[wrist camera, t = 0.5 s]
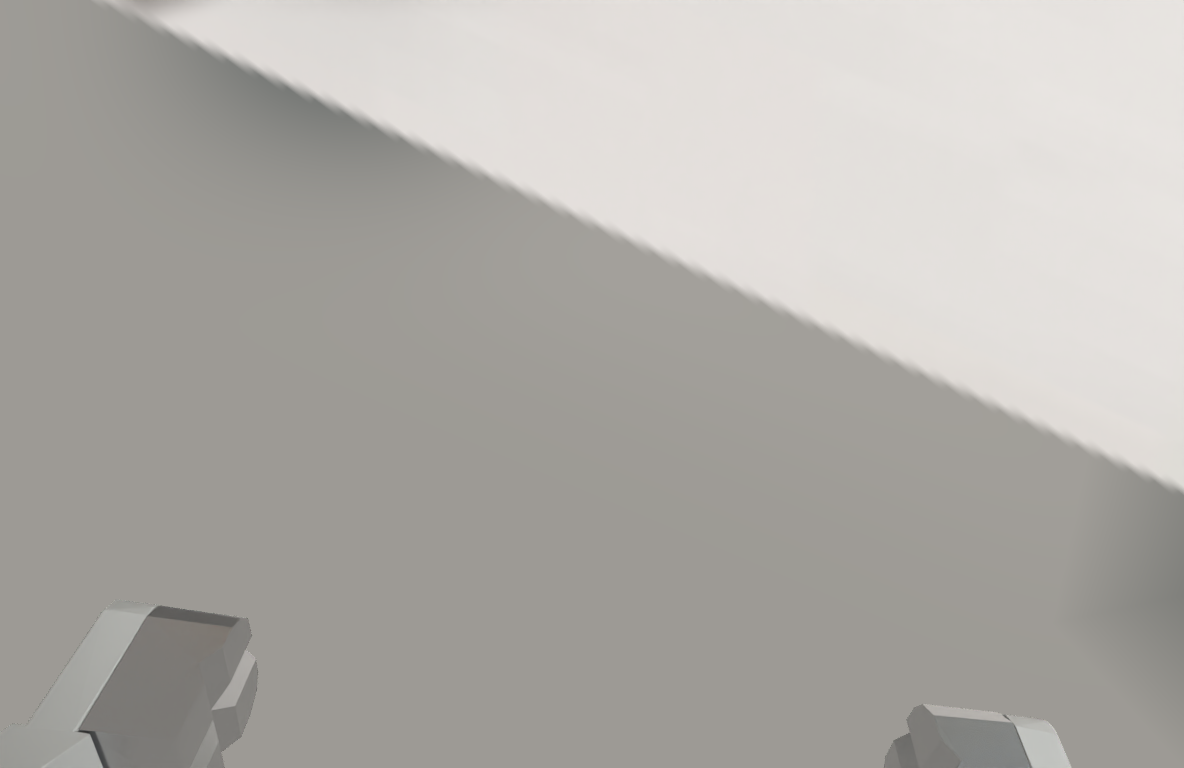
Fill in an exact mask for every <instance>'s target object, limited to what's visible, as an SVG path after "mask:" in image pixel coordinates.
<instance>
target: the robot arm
mask: <svg viewBox="0 0 1184 768" xmlns="http://www.w3.org/2000/svg"><path fill="white" fill-rule="evenodd" d="M251 637H252V634H251V629H250V625H249V621H248V618H242V617H236V616H229V615H222V614H215V613H207V612H201V611H194V610H186V609H180V608H173V607H165V606H162V605H155V604H147V603H139V602H130V601H122V600H115V601H114V602H113V603H112V604H110V605H109V606H108V607H107V608H106V609H104V610H103V611H102V612H101V614H100V615H99V617H98V618H97V620H96V621H95V623H94V624H93V626H92V627H91V629H90V630H89V632H88V633H87V635H86V636H85V638H84V639H83V641H82V642H81V644H80V645H79V647H78V648H77V650H76V651H75V653H74V654H73V656H72V657H71V659H70V660H69V662H68V663H67V665H66V666H65V668H64V669H63V671H62V672H61V673H60V675H59V677H58V678H57V680H56V681H55V682H54V684H53V685H52V687H51V688H50V690H49V691H48V693H47V694H46V696H45V697H44V699H43V701H42V702H41V703H40V705H39V706H38V708H37V709H36V711H35V712H34V714H33V716H32V717H31V719H30V720H29V721H28V723H27V724H26V725H21V724H12V725H10V726H8V727H7V728H5V729H4V730H2V731H1V732H0V768H225V767H224V763H223V758H222V754H221V752H222V751H223V750H225V749H226V748H227V747H229V746H230V745H231V744H233V743H234V742H235V741H236V740H238V739H239V738H240V737H241V736H242V734H243V731H244V729H245V726H246V724H247V721H248V719H249V717H250V714H251V710H252V706H253V702H254V699H255V695H256V691H257V679H258V669H257V663H256V658H254V657H253V656H252V655H251V654H250V653H249V652H248V651H247V650H246V647H247V645H248V643H249V641H250V639H251ZM907 723H908V727H909V730H910V733H908V734H906V735H904V736H902V737H900V738H898V739H896V740H894V741H893V743H892V745H891V747H890V749H889V751H888V753H887V755H886V757H885V764H884V768H1071V765H1070V763H1069V761H1068V758H1067V756H1066V754H1065V752H1064V749H1063V747H1062V744H1061V742H1060V740H1059V738H1058V735H1057V733H1056V731H1055V729H1054V728H1053V727H1052V726H1051V725H1050V724H1049V723H1048V722H1047V721H1046V720H1042V719H1039V718H1031V717H1021V716H1012V715H1002V714H1000V713H998V712H989V711H980V710H971V709H963V708H954V707H945V706H936V705H926V704H922V705H919V706H917V707H915V708H914V709H913V710H912V712H911V713H910V715H909V717H908V718H907Z"/></svg>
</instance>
